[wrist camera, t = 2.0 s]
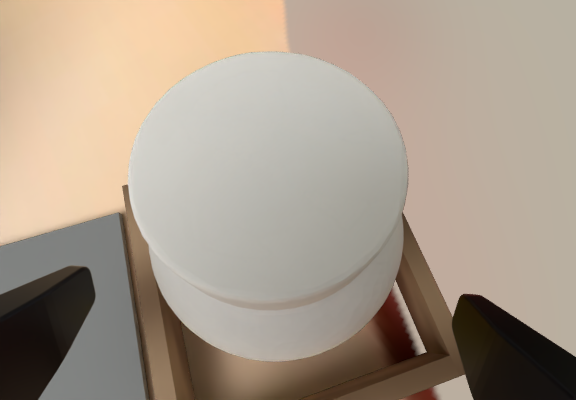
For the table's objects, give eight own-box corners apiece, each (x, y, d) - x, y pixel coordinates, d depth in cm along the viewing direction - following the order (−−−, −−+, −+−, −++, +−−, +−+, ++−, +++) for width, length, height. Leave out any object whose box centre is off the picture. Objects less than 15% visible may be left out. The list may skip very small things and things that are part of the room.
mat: (159, 465, 14) (155, 469, 14) (-146, 580, 13) (-159, 587, 13) (121, 214, 19) (118, 212, 18) (-113, 282, 17) (-121, 281, 17)
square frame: (449, 364, 16) (477, 369, 14) (187, 463, 15) (168, 487, 12) (350, 144, 20) (359, 119, 18) (142, 203, 19) (122, 186, 17)
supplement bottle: (368, 254, 18) (530, 97, 6) (308, 375, 16) (372, 511, 4) (261, 196, 19) (217, -32, 7) (193, 301, 17) (-33, 227, 5)
